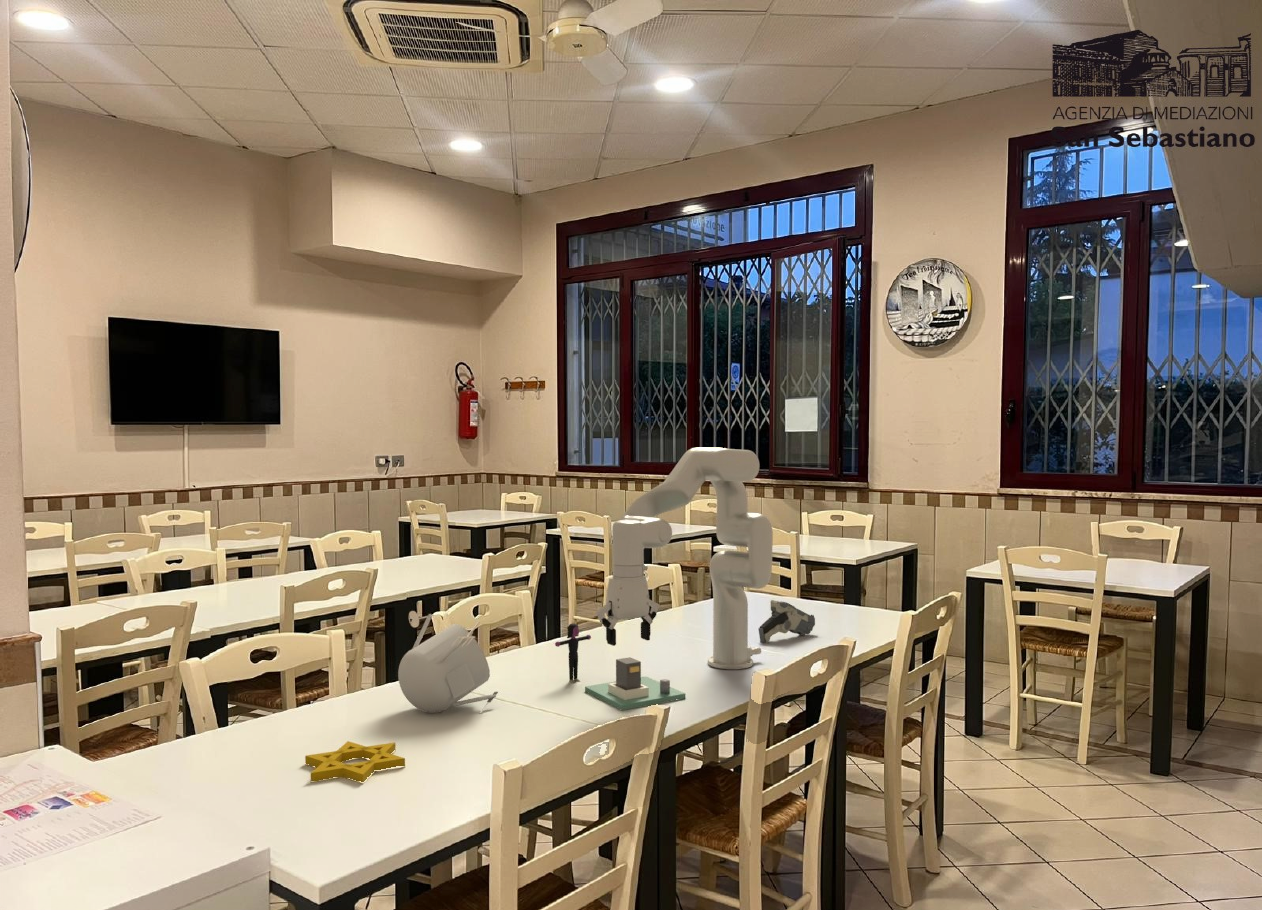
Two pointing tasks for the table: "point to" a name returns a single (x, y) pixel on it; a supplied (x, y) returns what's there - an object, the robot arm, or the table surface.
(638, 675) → the plug
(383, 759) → the star of david
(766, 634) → the toy gun
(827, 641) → the table surface
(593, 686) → the board
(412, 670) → the satellite
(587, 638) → the figurine
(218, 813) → the table surface
